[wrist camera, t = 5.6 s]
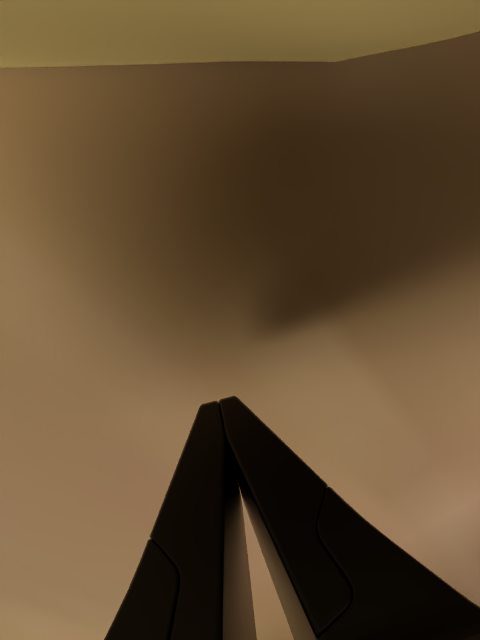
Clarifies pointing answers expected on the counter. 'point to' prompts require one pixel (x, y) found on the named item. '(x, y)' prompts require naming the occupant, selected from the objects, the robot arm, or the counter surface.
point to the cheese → (221, 30)
